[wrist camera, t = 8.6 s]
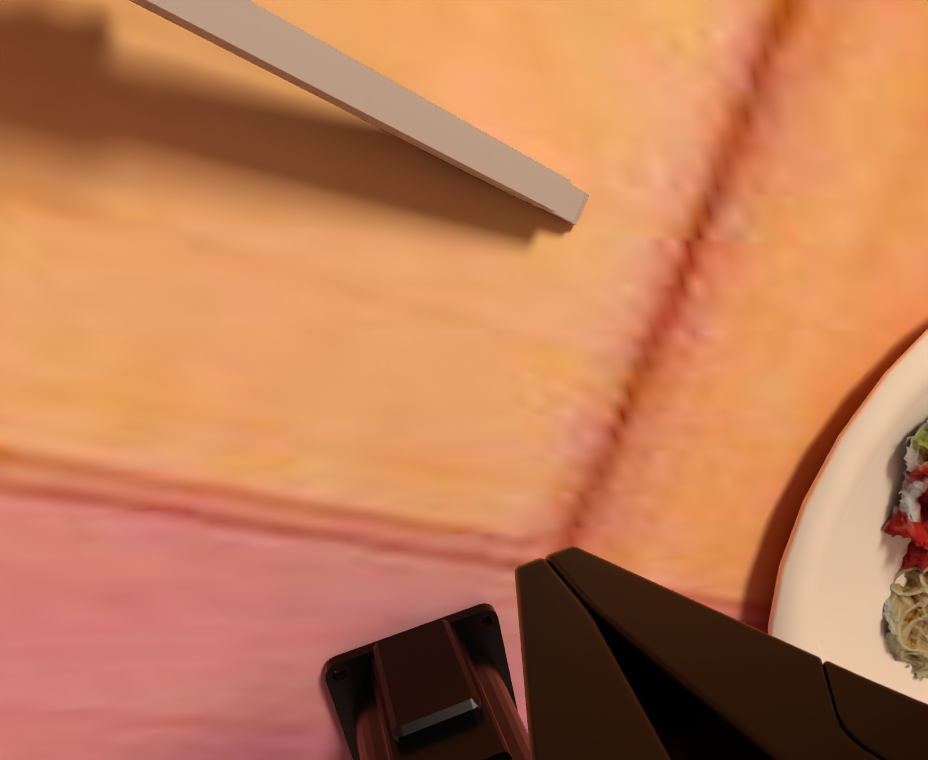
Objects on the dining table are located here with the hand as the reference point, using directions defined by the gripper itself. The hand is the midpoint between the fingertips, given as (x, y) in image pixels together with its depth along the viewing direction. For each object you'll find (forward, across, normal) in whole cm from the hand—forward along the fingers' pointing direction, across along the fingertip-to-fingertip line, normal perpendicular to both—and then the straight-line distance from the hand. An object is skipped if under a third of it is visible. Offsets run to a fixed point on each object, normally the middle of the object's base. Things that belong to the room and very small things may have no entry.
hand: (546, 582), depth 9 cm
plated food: (+13, -27, +19) cm, 36 cm away
